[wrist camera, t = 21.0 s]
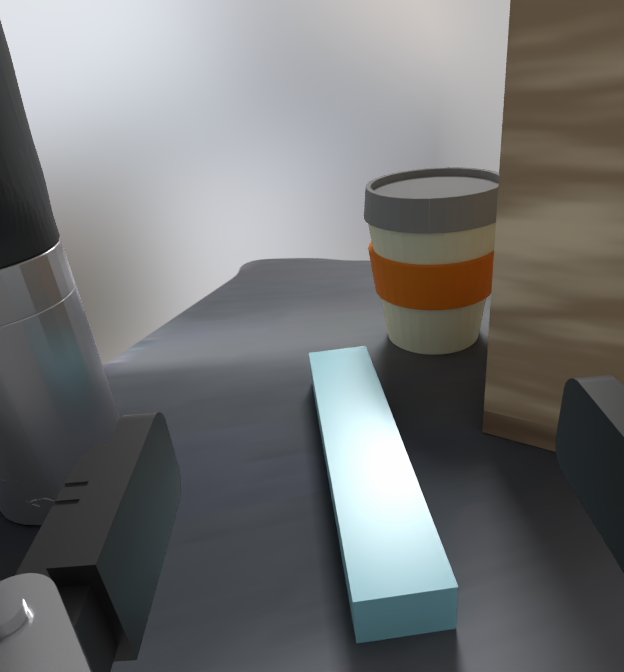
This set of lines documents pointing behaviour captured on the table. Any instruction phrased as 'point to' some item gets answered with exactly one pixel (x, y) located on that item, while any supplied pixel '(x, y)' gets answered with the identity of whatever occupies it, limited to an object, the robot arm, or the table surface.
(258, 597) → the table surface
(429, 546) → the long light blue beam
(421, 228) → the reusable coffee cup
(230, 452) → the table surface
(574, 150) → the brown tall stepped block
